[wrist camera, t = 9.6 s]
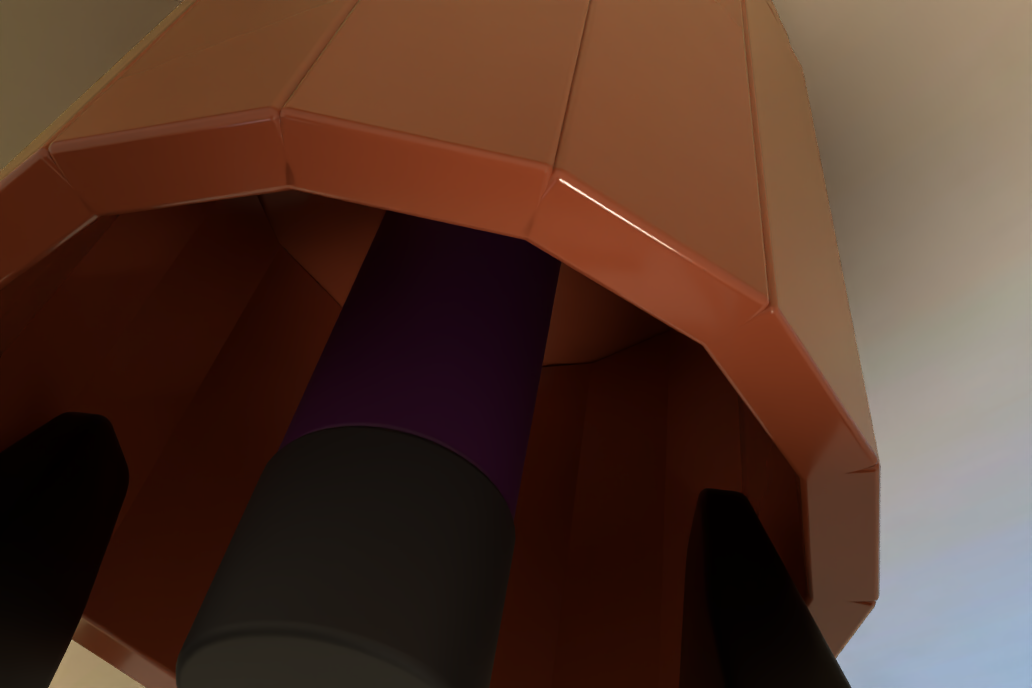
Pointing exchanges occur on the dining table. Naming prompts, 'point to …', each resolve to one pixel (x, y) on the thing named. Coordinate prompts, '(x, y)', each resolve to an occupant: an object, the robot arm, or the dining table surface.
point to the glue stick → (391, 479)
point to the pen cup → (473, 204)
